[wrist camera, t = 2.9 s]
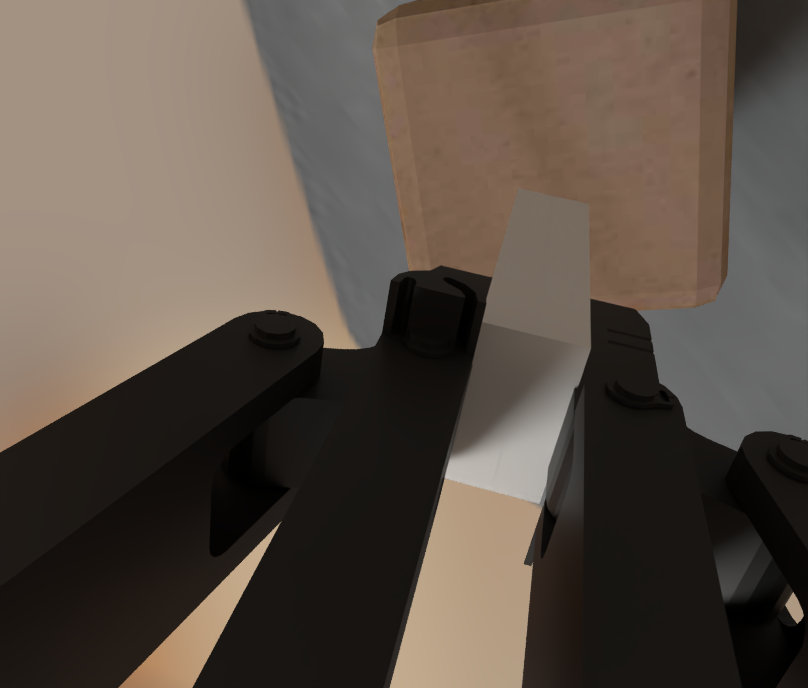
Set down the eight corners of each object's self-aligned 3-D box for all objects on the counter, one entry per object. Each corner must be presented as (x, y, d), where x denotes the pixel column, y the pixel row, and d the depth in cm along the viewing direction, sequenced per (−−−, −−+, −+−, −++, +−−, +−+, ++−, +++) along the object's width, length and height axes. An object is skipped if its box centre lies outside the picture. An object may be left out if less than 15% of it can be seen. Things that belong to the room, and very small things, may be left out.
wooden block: (483, 177, 42) (411, 333, 25) (462, -14, 38) (356, 13, 20) (668, 158, 39) (731, 318, 22) (668, -50, 35) (746, -53, 18)
